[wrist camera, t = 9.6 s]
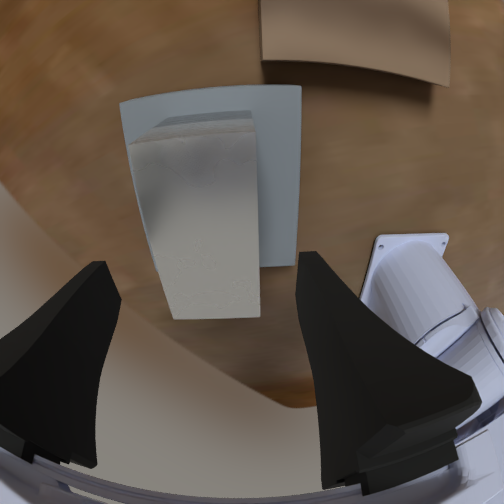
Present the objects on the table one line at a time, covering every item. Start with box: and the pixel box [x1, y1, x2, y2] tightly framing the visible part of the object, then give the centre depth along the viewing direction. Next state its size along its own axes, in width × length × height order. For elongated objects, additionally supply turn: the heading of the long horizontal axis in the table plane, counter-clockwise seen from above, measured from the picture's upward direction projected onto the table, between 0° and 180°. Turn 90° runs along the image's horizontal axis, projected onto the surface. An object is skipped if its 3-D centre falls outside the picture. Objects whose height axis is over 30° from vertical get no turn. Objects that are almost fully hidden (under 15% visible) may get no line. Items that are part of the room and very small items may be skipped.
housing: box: [128, 110, 260, 319], centre depth 14 cm, size 4×9×6 cm, turn 2°
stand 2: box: [258, 0, 451, 88], centre depth 11 cm, size 7×12×2 cm, turn 92°
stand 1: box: [119, 84, 301, 271], centre depth 17 cm, size 12×10×2 cm
